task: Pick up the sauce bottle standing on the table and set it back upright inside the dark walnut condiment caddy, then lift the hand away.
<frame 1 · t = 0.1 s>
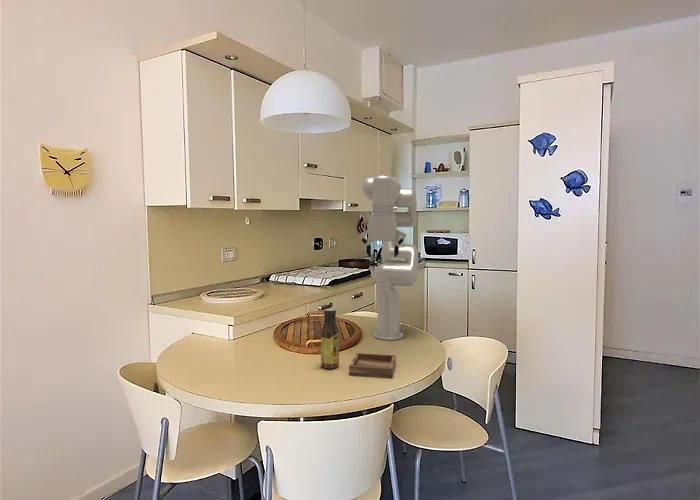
hand: (382, 256, 163), 37 cm above the table, tool pointing down, fingers open, 9 cm apart
sauce bottle: (330, 366, 153), on the table
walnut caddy: (373, 369, 150), on the table
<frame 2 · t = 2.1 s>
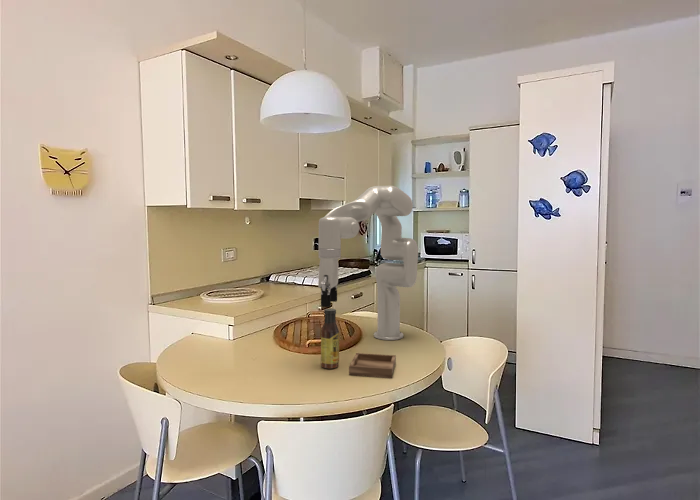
hand: (329, 304, 150), 22 cm above the table, tool pointing down, fingers open, 9 cm apart
nothing on the table moved.
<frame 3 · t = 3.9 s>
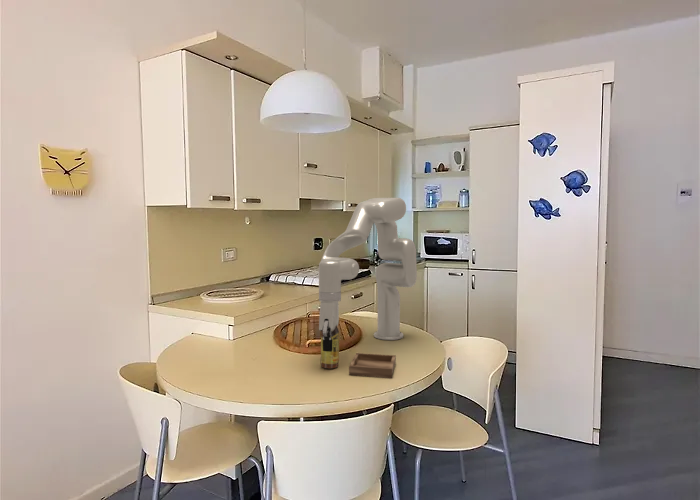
hand: (330, 347, 152), 7 cm above the table, tool pointing down, fingers closed on sauce bottle, 6 cm apart
sauce bottle: (330, 366, 153), on the table, touching gripper
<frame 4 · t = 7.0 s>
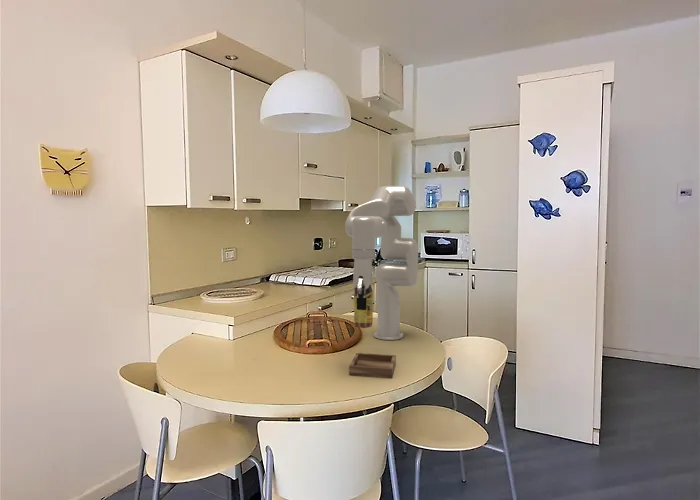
hand: (363, 306, 149), 21 cm above the table, tool pointing down, fingers closed on sauce bottle, 6 cm apart
sauce bottle: (363, 326, 150), point 14 cm above the table, touching gripper
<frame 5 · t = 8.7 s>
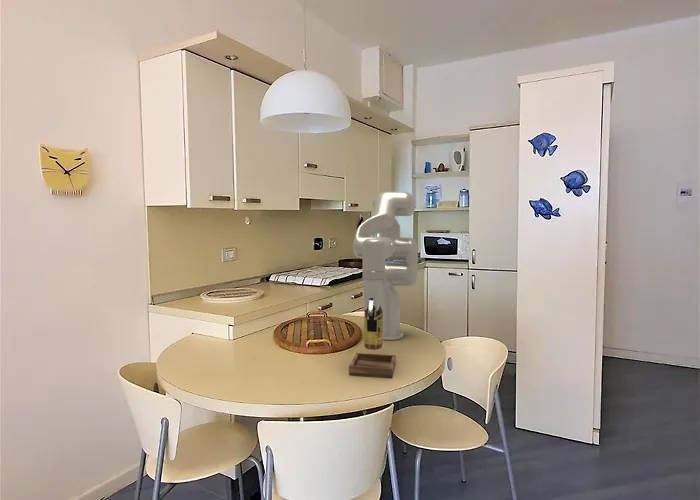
hand: (373, 328, 149), 14 cm above the table, tool pointing down, fingers closed on sauce bottle, 6 cm apart
sauce bottle: (373, 348, 149), point 7 cm above the table, touching gripper
when the fingers open (9 cm above the table, at t = 10.1 s): sauce bottle drops 1 cm, resting on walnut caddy.
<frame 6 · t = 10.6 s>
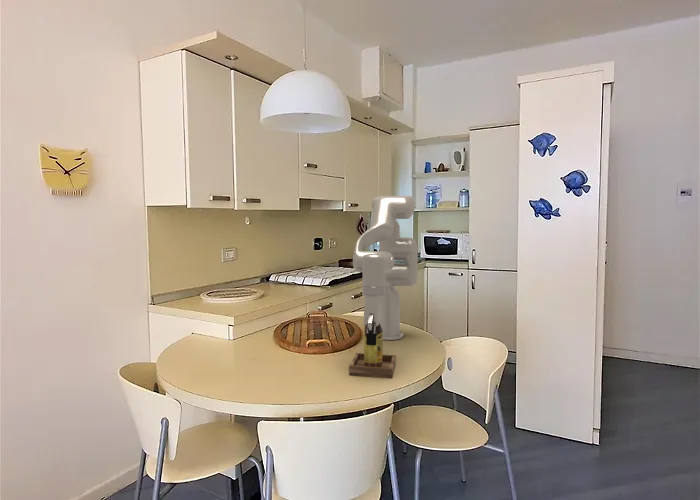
hand: (373, 340, 149), 10 cm above the table, tool pointing down, fingers open, 9 cm apart
sauce bottle: (373, 366, 150), point 1 cm above the table, touching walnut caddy
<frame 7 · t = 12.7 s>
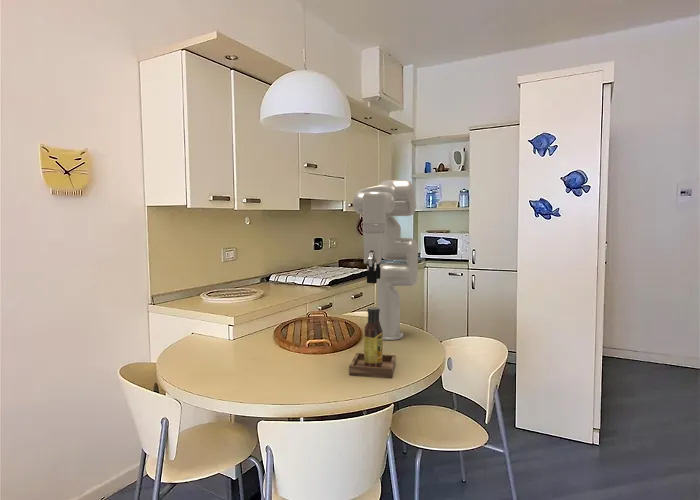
hand: (373, 280, 148), 30 cm above the table, tool pointing down, fingers open, 9 cm apart
nothing on the table moved.
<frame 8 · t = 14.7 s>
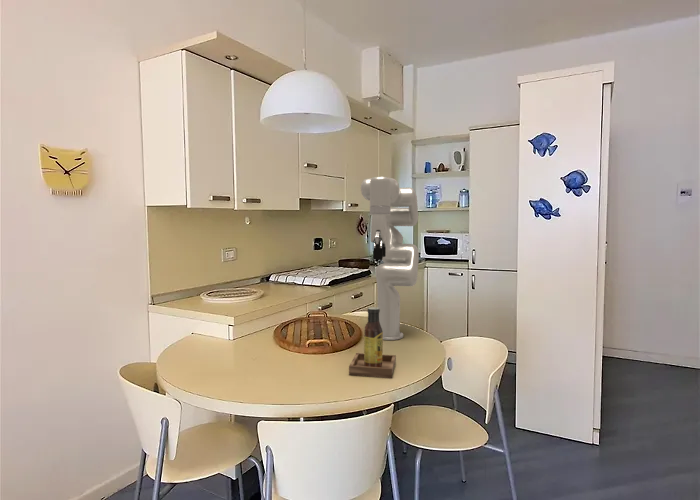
hand: (379, 258, 163), 36 cm above the table, tool pointing down, fingers open, 9 cm apart
nothing on the table moved.
at the end: sauce bottle inside the target area on the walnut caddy (0.3 cm from its centre), point 0.8 cm above the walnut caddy's base; sauce bottle tilted 0°; the gripper is holding nothing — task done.
